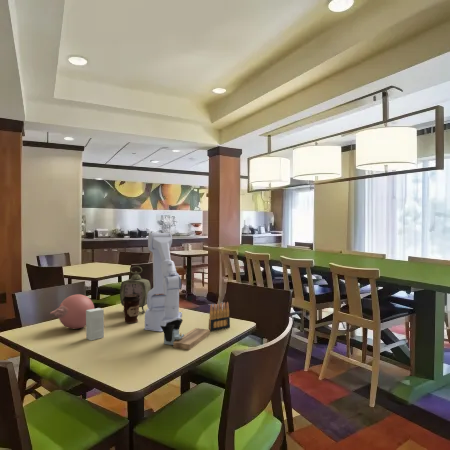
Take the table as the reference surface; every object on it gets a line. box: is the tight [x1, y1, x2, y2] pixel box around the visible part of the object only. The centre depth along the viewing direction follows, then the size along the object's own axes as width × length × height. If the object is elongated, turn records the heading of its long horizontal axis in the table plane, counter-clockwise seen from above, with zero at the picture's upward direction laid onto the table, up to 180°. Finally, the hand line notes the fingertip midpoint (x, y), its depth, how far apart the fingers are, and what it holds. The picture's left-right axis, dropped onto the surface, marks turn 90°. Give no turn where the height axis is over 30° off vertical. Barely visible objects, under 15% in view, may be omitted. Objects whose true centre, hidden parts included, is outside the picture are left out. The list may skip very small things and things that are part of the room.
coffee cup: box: [123, 294, 140, 324], centre depth 173 cm, size 9×8×13 cm
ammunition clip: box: [208, 301, 231, 332], centre depth 162 cm, size 11×2×12 cm, turn 124°
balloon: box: [49, 293, 96, 330], centre depth 160 cm, size 15×20×15 cm
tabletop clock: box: [119, 265, 152, 315], centre depth 192 cm, size 14×9×25 cm, turn 80°
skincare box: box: [85, 307, 105, 341], centre depth 148 cm, size 6×4×12 cm
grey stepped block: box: [163, 328, 185, 346], centre depth 142 cm, size 7×4×5 cm, turn 70°
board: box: [172, 327, 211, 350], centre depth 146 cm, size 7×20×2 cm, turn 160°
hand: (171, 339), depth 142 cm, fingers closed on grey stepped block, 4 cm apart
